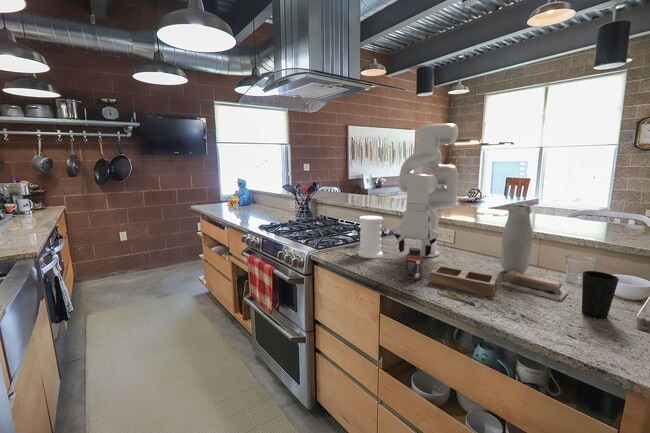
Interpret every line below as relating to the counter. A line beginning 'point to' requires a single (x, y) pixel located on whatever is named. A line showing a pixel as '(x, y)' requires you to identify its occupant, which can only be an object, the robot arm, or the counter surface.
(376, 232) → the decorative container
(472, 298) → the counter surface
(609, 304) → the cup
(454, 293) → the tongs
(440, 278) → the rack
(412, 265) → the supplement bottle
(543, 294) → the packaged product
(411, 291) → the counter surface
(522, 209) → the glass bottle
